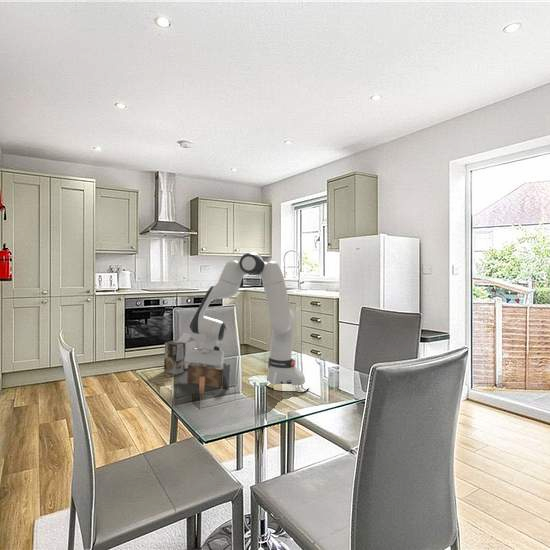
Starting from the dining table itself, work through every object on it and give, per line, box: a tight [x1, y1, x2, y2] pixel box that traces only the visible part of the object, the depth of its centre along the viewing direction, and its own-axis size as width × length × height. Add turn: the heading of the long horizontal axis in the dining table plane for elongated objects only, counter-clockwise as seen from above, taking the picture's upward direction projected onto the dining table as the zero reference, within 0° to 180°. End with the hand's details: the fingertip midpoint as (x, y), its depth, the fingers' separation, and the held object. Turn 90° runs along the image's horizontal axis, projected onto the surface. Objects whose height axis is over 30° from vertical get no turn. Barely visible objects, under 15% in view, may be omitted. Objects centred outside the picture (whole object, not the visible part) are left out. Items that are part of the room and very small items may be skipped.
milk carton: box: [177, 332, 196, 370], centre depth 227 cm, size 7×7×19 cm
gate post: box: [221, 362, 231, 390], centre depth 196 cm, size 3×3×12 cm
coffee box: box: [163, 340, 185, 375], centre depth 216 cm, size 9×6×16 cm
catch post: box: [198, 377, 205, 395], centre depth 188 cm, size 2×2×7 cm
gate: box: [186, 364, 223, 388], centre depth 199 cm, size 18×2×9 cm, turn 75°
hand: (198, 373), depth 201 cm, fingers closed, pressing on gate
